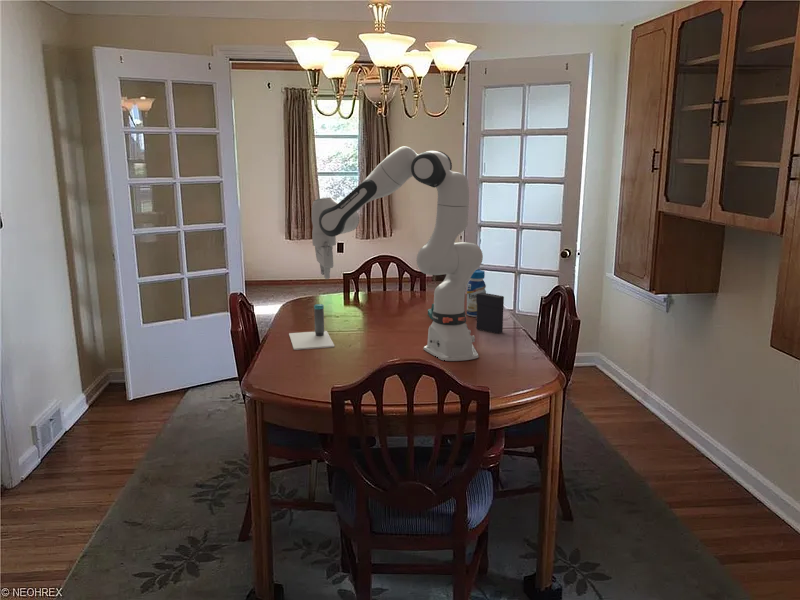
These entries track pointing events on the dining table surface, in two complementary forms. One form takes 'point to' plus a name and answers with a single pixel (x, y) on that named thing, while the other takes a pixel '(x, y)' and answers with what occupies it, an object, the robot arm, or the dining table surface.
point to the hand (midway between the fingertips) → (325, 276)
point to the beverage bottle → (475, 291)
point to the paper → (310, 340)
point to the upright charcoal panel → (490, 312)
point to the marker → (319, 319)
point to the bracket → (431, 311)
